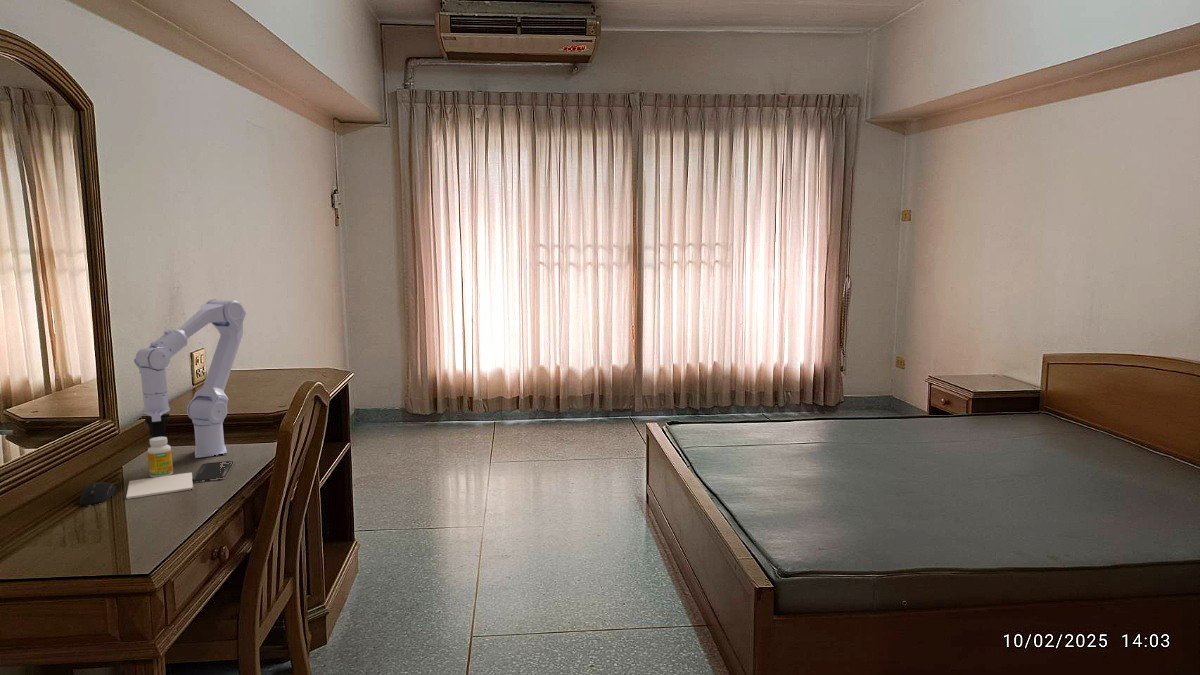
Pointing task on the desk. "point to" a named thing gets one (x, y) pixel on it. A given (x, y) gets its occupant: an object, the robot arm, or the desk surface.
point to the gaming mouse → (97, 493)
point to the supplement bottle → (160, 457)
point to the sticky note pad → (159, 485)
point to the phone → (212, 471)
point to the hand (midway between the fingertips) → (159, 442)
